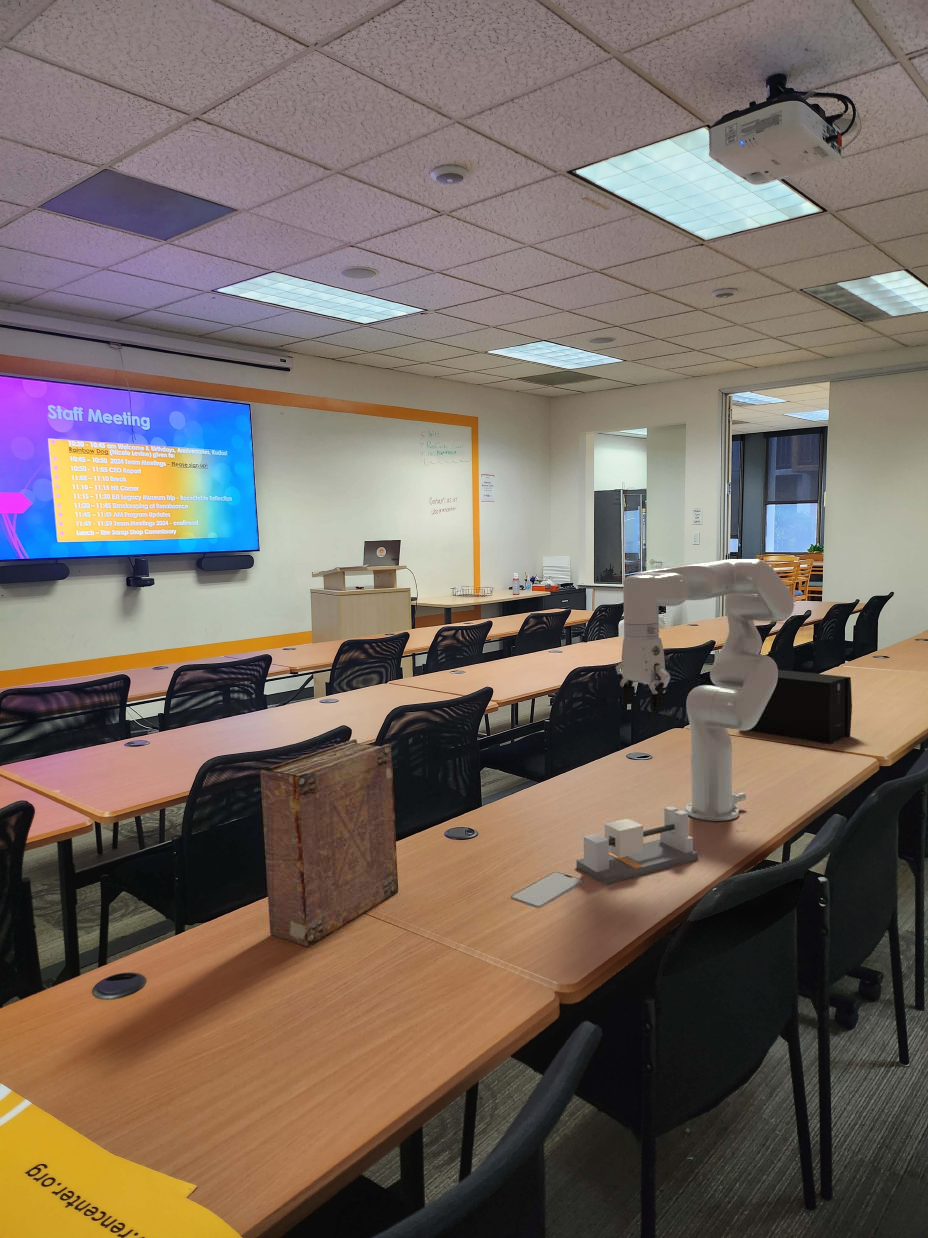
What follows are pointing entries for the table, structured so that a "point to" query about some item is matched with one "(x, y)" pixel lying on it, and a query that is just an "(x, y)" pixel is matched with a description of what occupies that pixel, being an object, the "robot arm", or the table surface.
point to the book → (328, 839)
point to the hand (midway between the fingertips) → (642, 707)
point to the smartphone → (547, 889)
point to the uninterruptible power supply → (808, 707)
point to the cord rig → (654, 857)
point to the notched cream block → (625, 837)
